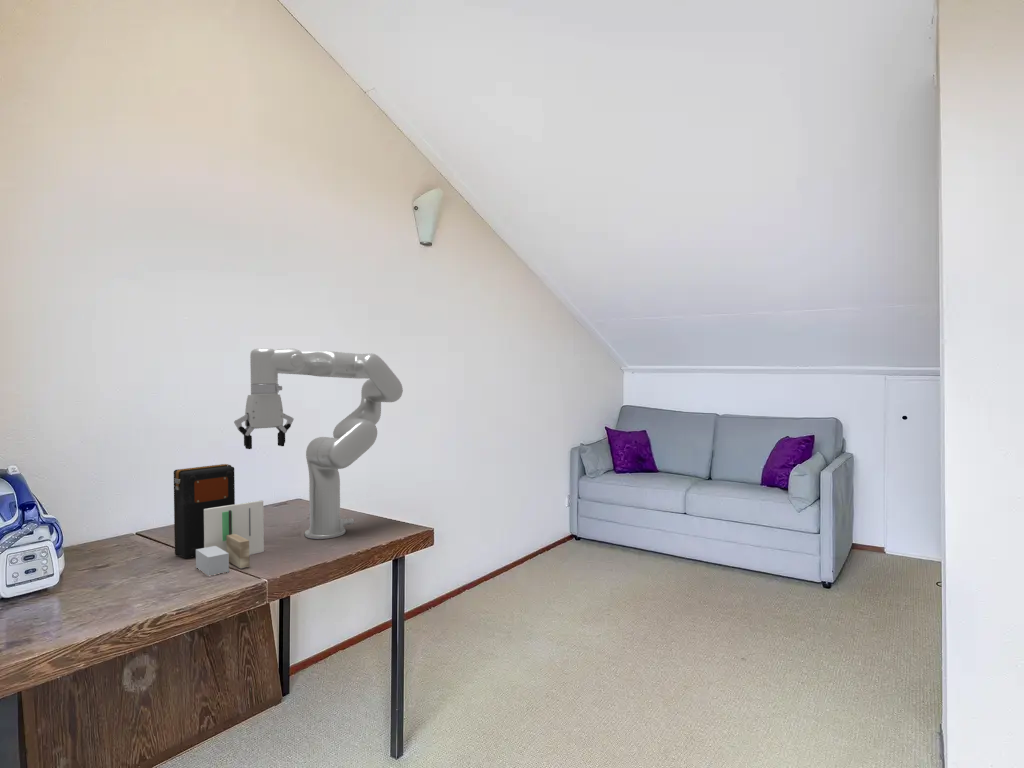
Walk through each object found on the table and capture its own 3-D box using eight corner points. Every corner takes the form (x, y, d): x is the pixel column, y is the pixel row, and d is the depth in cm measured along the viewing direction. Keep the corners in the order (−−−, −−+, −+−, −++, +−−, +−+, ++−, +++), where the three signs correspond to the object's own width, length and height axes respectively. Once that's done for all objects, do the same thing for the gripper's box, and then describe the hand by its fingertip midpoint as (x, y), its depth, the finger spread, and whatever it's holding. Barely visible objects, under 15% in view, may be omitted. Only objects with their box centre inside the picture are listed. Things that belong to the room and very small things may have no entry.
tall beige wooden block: (234, 557, 170) (233, 509, 170) (249, 566, 162) (248, 515, 162) (225, 559, 168) (225, 510, 168) (240, 568, 161) (239, 517, 161)
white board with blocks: (262, 551, 178) (261, 500, 177) (281, 560, 169) (280, 507, 168) (192, 565, 164) (191, 510, 164) (208, 576, 155) (207, 518, 155)
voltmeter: (225, 543, 186) (224, 462, 186) (239, 548, 181) (238, 465, 180) (171, 555, 174) (170, 469, 174) (184, 561, 168) (183, 471, 168)
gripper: (287, 389, 189) (287, 443, 189) (229, 390, 177) (230, 448, 177) (297, 389, 183) (298, 445, 184) (239, 391, 171) (240, 451, 171)
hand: (265, 447), depth 180 cm, fingers open, 9 cm apart
